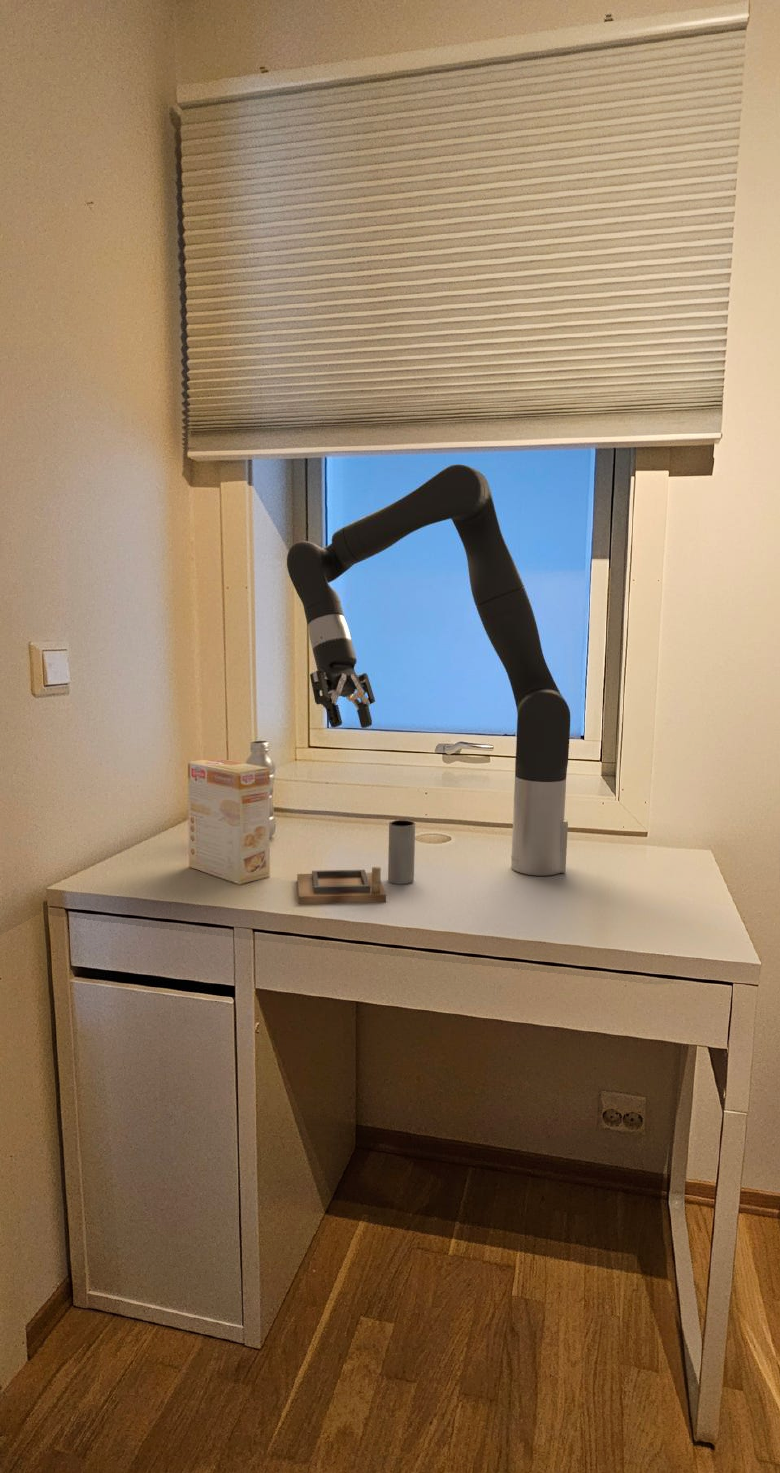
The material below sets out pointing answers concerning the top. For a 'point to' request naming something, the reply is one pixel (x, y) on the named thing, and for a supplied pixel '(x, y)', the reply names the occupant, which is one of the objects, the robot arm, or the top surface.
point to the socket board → (341, 886)
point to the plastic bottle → (264, 760)
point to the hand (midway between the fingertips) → (352, 726)
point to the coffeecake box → (229, 819)
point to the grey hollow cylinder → (401, 852)
